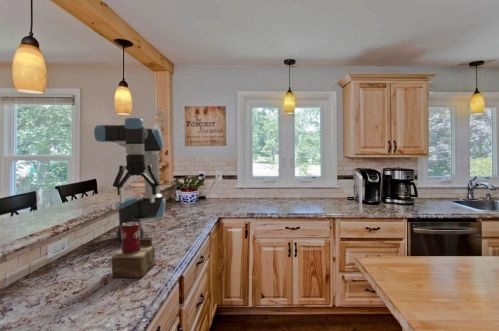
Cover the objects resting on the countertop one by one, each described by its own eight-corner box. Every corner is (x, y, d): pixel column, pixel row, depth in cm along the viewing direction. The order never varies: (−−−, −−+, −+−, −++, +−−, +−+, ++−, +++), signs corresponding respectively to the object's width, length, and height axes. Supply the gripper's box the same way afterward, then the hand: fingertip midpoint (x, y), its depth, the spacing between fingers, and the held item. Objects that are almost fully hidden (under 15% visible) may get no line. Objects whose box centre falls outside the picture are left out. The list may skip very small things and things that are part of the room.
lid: (128, 246, 131) (128, 238, 131) (154, 246, 131) (154, 238, 130) (112, 258, 117) (111, 248, 117) (141, 258, 117) (140, 248, 117)
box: (129, 265, 132) (128, 247, 131) (155, 265, 131) (154, 247, 130) (112, 278, 118) (111, 259, 117) (141, 278, 117) (140, 259, 116)
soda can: (120, 256, 117) (119, 226, 116) (123, 250, 124) (122, 222, 123) (139, 254, 119) (138, 224, 118) (141, 248, 126) (140, 220, 125)
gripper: (102, 154, 124) (105, 204, 125) (160, 153, 122) (162, 203, 123) (112, 154, 131) (114, 201, 132) (166, 153, 130) (168, 200, 131)
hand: (137, 202), depth 128 cm, fingers open, 13 cm apart
